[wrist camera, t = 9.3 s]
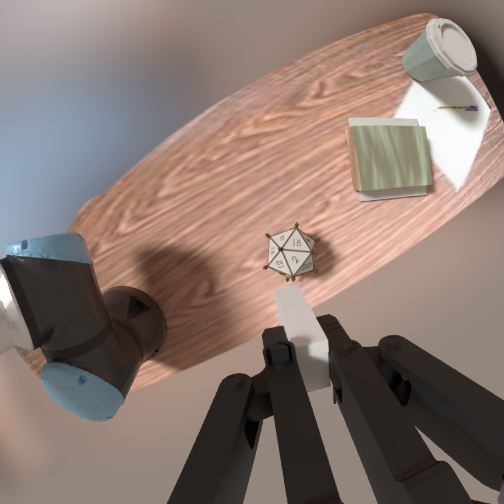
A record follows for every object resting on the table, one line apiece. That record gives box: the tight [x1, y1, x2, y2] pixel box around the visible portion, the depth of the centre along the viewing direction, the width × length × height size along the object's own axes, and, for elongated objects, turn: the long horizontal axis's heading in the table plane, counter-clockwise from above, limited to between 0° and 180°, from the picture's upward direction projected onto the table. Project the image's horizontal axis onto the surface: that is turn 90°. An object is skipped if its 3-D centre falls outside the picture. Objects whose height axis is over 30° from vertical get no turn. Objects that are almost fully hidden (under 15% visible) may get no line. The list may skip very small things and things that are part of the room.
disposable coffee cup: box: [402, 18, 477, 81], centre depth 29 cm, size 11×11×15 cm
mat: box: [348, 118, 427, 201], centre depth 41 cm, size 14×14×1 cm
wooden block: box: [345, 125, 433, 191], centre depth 39 cm, size 4×10×14 cm
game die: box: [263, 223, 320, 282], centre depth 41 cm, size 9×8×10 cm
